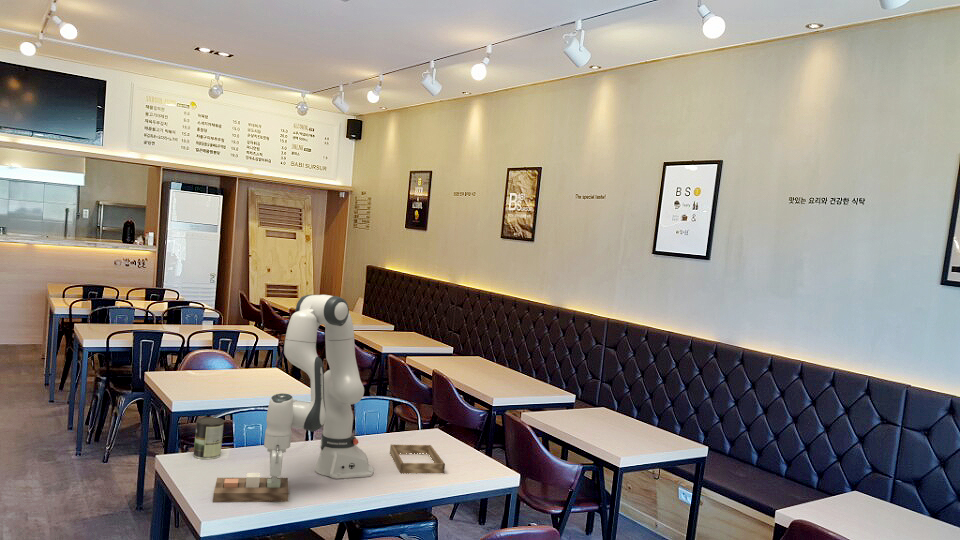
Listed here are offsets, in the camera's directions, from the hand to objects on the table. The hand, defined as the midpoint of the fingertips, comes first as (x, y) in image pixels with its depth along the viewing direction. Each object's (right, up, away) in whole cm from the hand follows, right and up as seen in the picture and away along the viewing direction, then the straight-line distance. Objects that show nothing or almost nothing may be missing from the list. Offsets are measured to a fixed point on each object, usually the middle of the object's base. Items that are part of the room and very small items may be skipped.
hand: (273, 480), depth 238 cm
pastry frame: (+45, -8, +50) cm, 67 cm away
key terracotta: (-14, -2, -4) cm, 14 cm away
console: (-7, -4, -2) cm, 8 cm away
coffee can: (-36, 0, +33) cm, 49 cm away
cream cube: (-7, -1, -2) cm, 7 cm away
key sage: (0, -4, 0) cm, 4 cm away
